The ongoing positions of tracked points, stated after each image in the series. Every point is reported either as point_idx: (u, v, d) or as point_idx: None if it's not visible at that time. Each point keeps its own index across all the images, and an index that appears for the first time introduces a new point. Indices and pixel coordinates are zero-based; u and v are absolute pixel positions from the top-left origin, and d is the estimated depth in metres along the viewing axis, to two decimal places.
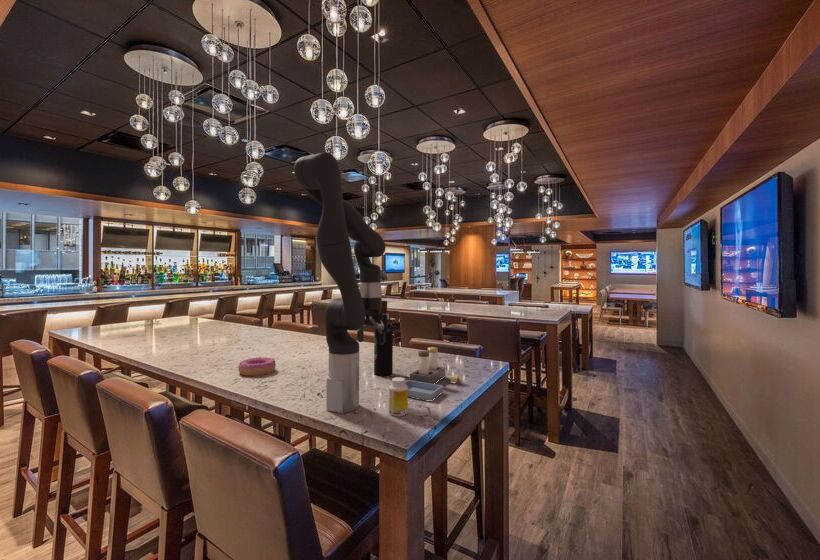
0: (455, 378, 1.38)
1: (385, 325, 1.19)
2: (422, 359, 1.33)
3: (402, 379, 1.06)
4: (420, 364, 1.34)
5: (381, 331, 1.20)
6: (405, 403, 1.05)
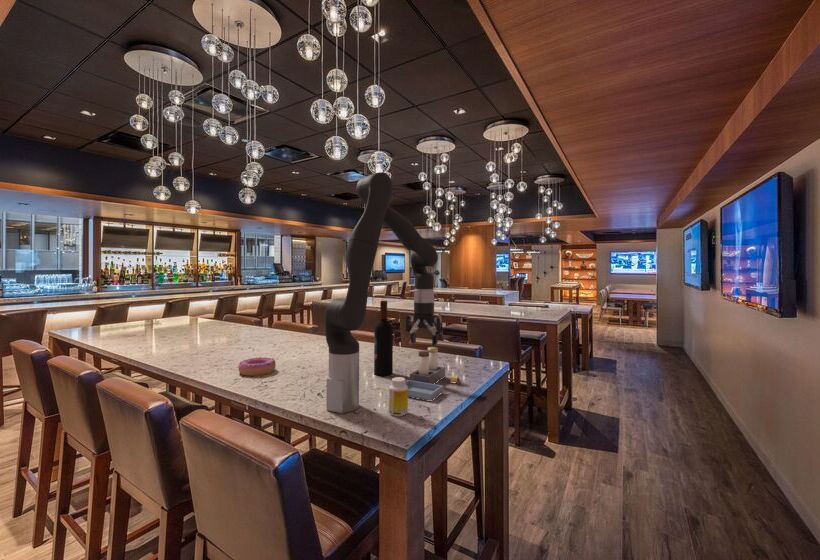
0: (455, 378, 1.38)
1: (438, 328, 1.31)
2: (422, 359, 1.33)
3: (402, 379, 1.06)
4: (420, 364, 1.34)
5: (434, 333, 1.32)
6: (405, 403, 1.05)
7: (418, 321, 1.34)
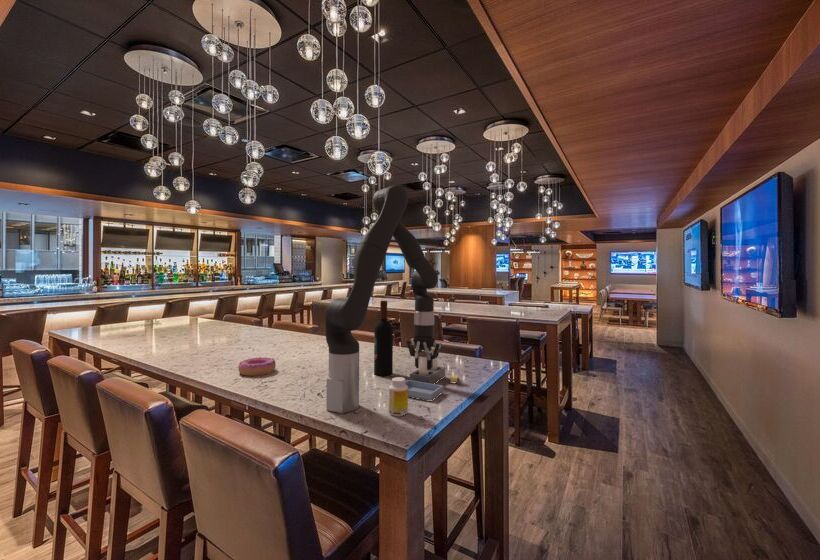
0: (455, 378, 1.38)
1: (435, 353, 1.32)
2: (422, 359, 1.33)
3: (402, 379, 1.06)
4: (420, 364, 1.34)
5: (429, 358, 1.33)
6: (405, 403, 1.05)
7: (418, 343, 1.34)
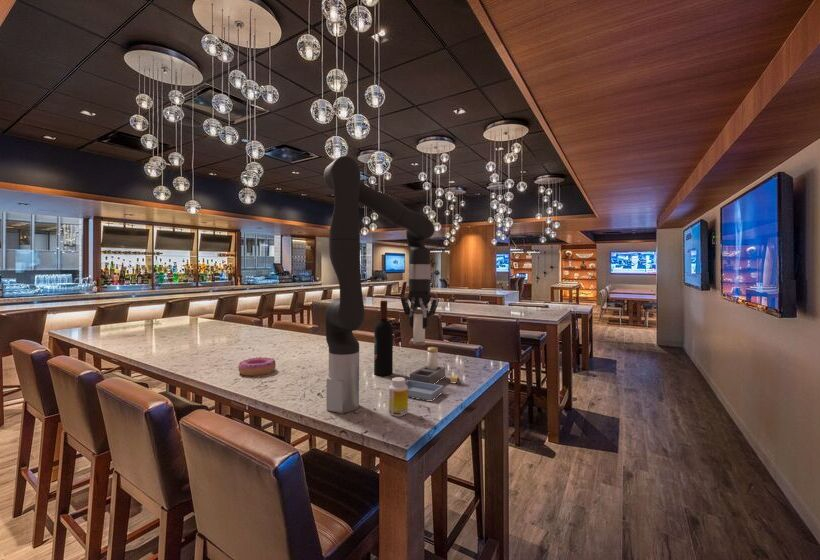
0: (455, 378, 1.38)
1: (431, 309, 1.20)
2: (417, 317, 1.22)
3: (402, 379, 1.06)
4: (415, 322, 1.22)
5: (425, 315, 1.21)
6: (405, 403, 1.05)
7: (413, 300, 1.22)
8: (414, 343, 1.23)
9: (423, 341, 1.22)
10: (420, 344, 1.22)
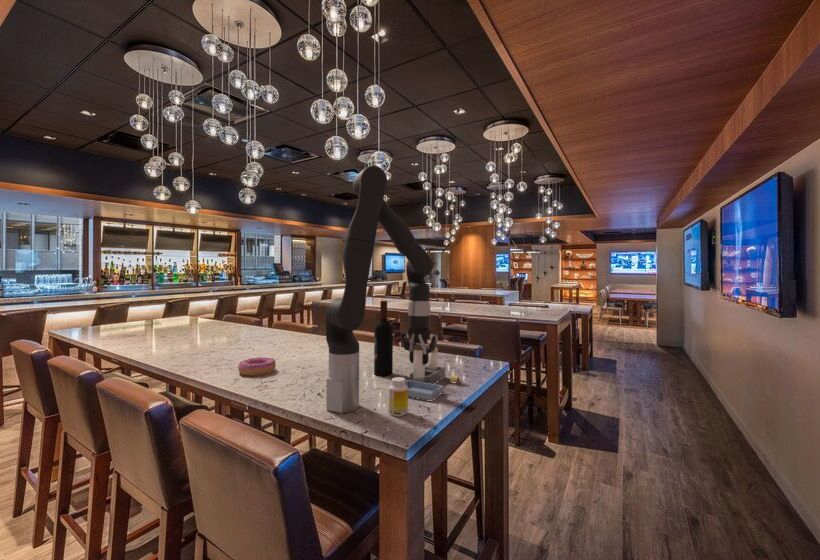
0: (455, 378, 1.38)
1: (431, 346, 1.21)
2: (417, 353, 1.22)
3: (402, 379, 1.06)
4: (415, 358, 1.23)
5: (425, 352, 1.22)
6: (405, 403, 1.05)
7: (413, 336, 1.23)
8: (414, 379, 1.23)
9: (423, 377, 1.23)
10: (420, 380, 1.22)
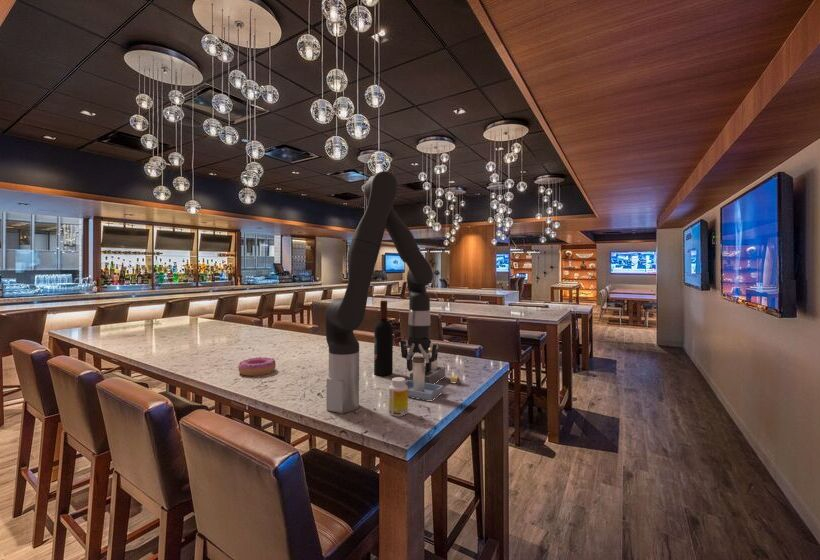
0: (455, 378, 1.38)
1: (433, 355, 1.20)
2: (417, 366, 1.22)
3: (402, 379, 1.06)
4: (415, 371, 1.23)
5: (428, 361, 1.21)
6: (405, 403, 1.05)
7: (413, 345, 1.23)
8: None
9: (422, 389, 1.23)
10: None
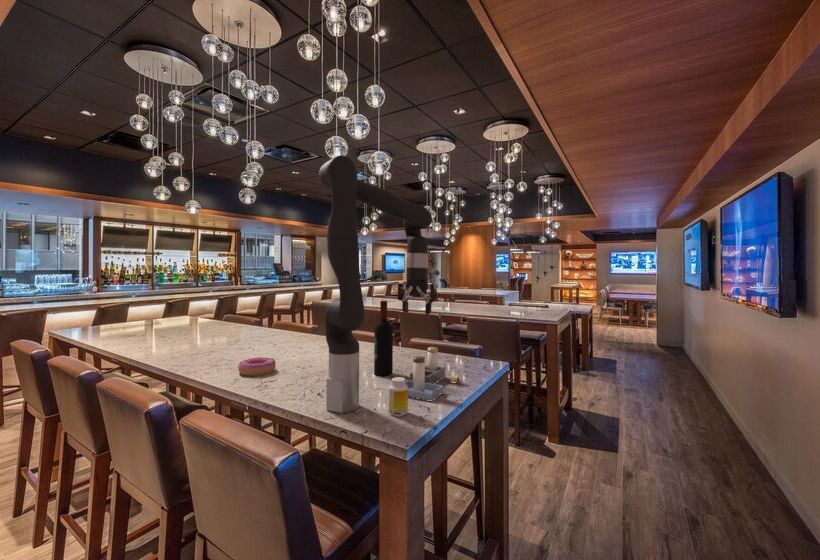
0: (455, 378, 1.38)
1: (432, 295, 1.21)
2: (417, 366, 1.22)
3: (402, 379, 1.06)
4: (415, 371, 1.23)
5: (428, 301, 1.22)
6: (405, 403, 1.05)
7: (410, 288, 1.24)
8: None
9: (422, 389, 1.23)
10: None
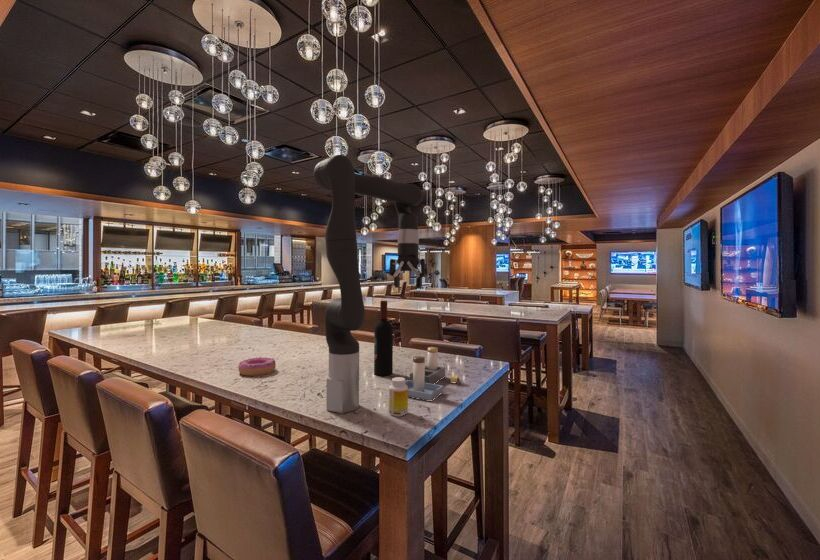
0: (455, 378, 1.38)
1: (422, 269, 1.25)
2: (417, 366, 1.22)
3: (402, 379, 1.06)
4: (415, 371, 1.23)
5: (418, 275, 1.26)
6: (405, 403, 1.05)
7: (402, 263, 1.28)
8: None
9: (422, 389, 1.23)
10: None
